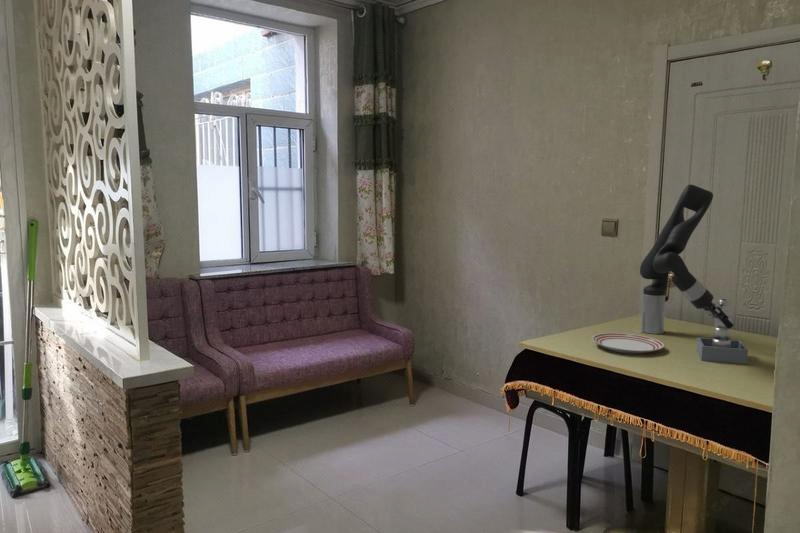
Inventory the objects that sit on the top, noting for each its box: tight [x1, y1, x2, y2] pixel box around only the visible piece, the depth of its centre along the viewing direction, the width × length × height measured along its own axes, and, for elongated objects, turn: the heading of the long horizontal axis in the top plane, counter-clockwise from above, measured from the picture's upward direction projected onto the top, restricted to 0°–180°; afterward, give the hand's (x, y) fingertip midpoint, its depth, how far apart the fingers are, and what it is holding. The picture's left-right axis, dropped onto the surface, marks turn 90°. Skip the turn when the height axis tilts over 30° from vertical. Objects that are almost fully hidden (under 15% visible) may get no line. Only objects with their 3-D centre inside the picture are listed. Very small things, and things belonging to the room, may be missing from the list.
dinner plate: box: [591, 332, 665, 355], centre depth 243 cm, size 28×27×3 cm
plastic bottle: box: [712, 298, 734, 348], centre depth 227 cm, size 6×7×20 cm
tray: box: [696, 337, 749, 365], centre depth 229 cm, size 15×15×6 cm
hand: (727, 325), depth 227 cm, fingers closed on plastic bottle, 6 cm apart
